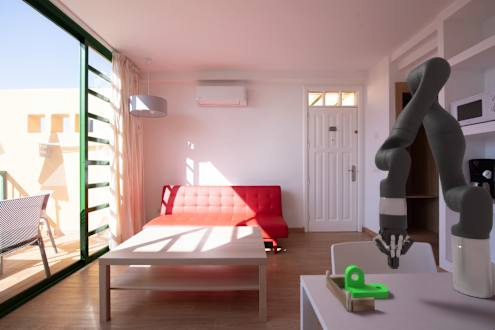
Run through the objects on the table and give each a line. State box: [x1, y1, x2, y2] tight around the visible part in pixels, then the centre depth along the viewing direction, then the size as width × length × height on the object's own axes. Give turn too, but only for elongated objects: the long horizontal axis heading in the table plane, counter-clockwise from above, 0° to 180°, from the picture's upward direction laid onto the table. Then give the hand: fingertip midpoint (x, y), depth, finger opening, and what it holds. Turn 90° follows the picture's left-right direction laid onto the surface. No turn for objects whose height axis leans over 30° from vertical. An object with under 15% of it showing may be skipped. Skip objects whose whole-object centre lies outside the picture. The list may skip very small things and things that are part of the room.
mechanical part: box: [344, 264, 389, 299], centre depth 79 cm, size 12×6×8 cm, turn 91°
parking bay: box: [325, 270, 376, 313], centre depth 77 cm, size 8×16×5 cm, turn 4°
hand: (393, 268), depth 78 cm, fingers closed
